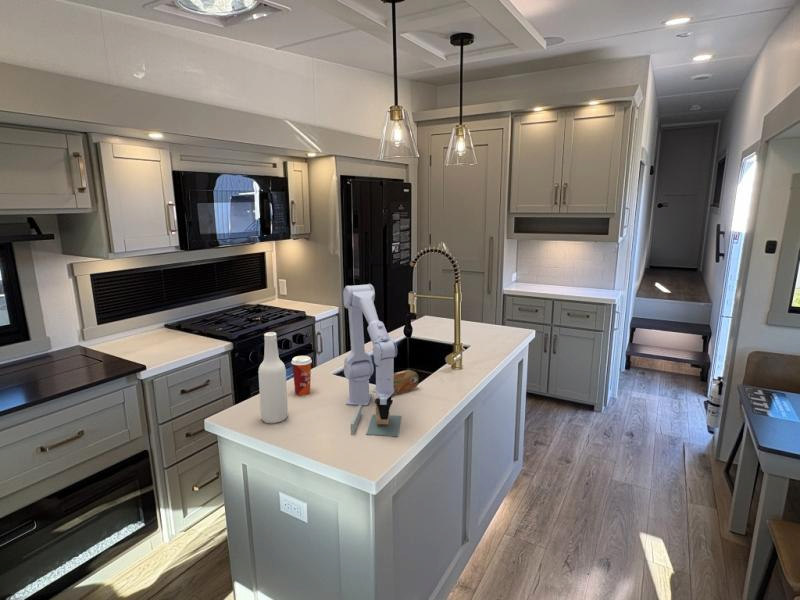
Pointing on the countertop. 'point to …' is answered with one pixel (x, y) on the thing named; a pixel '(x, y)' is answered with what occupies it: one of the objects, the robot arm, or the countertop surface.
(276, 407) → the alcohol
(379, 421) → the oak block
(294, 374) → the paper cup
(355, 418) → the low wall
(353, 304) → the robot arm
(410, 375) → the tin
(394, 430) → the mat
